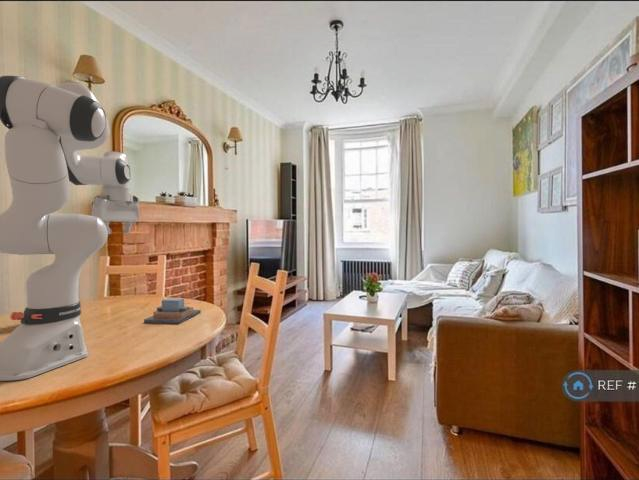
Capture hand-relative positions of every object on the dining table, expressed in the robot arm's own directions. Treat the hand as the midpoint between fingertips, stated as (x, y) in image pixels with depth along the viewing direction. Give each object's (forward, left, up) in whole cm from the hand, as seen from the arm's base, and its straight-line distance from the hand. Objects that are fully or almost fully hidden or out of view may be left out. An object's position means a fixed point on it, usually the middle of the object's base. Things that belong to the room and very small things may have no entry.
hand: (117, 233), depth 126 cm
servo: (+7, -18, -32) cm, 37 cm away
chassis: (+7, -18, -33) cm, 38 cm away
